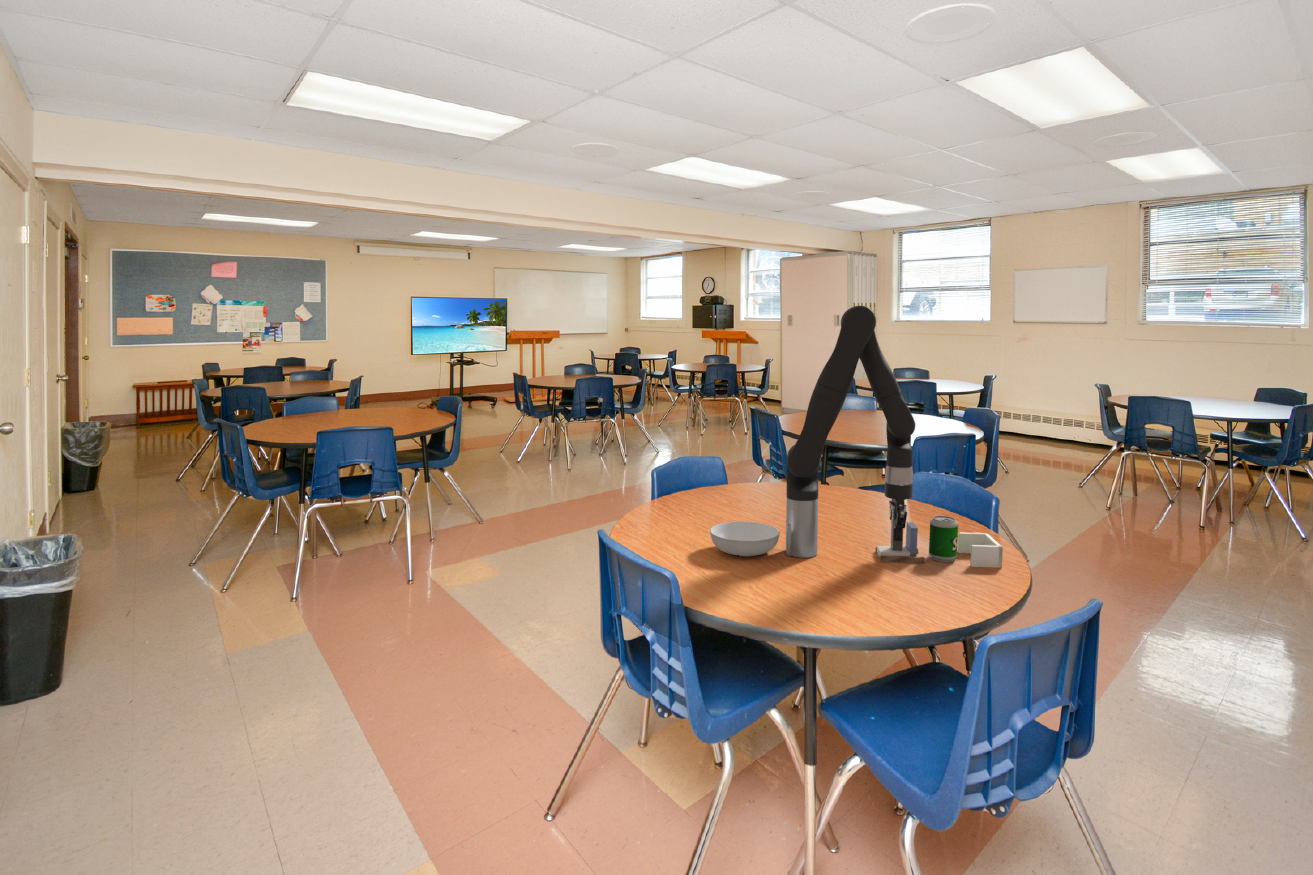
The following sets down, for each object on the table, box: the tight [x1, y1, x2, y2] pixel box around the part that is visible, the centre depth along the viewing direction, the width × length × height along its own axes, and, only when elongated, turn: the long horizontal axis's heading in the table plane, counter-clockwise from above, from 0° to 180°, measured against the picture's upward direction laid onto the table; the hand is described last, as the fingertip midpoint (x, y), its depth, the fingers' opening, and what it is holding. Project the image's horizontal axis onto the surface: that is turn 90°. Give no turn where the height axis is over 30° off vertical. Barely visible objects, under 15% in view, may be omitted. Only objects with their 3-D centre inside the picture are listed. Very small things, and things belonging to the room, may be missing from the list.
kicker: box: [876, 516, 919, 558], centre depth 195 cm, size 10×6×12 cm, turn 81°
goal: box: [957, 531, 1004, 569], centre depth 192 cm, size 8×13×6 cm, turn 171°
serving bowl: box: [709, 520, 781, 557], centre depth 203 cm, size 21×21×7 cm
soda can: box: [928, 515, 959, 563], centre depth 193 cm, size 8×8×12 cm
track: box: [875, 546, 926, 564], centre depth 196 cm, size 12×9×2 cm
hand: (896, 538), depth 195 cm, fingers closed on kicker, 3 cm apart
